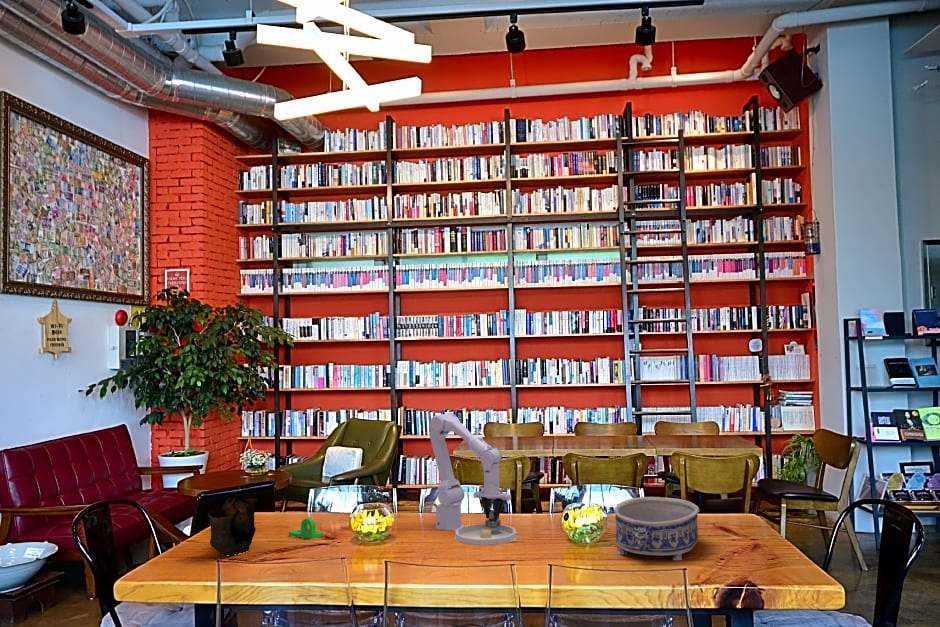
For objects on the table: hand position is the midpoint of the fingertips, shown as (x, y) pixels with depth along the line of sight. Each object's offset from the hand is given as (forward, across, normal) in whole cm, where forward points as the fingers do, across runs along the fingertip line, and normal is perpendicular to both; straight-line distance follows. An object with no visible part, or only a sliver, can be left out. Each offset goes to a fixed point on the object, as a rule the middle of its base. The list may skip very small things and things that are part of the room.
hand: (492, 518), depth 270 cm
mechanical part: (+6, -63, -30) cm, 70 cm away
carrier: (+6, 0, -6) cm, 8 cm away
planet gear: (+3, 0, 0) cm, 3 cm away
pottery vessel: (+6, -72, -57) cm, 93 cm away
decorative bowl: (+6, +60, +3) cm, 61 cm away
